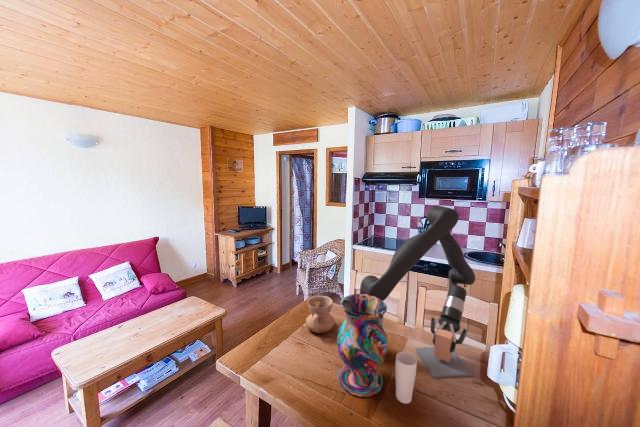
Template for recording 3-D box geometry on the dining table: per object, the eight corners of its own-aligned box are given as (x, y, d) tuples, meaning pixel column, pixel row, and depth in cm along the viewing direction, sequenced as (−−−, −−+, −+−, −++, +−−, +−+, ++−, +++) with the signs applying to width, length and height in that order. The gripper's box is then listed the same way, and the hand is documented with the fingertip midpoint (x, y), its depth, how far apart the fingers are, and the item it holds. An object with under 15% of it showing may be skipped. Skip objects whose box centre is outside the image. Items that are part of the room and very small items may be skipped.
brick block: (448, 362, 100) (450, 339, 99) (433, 356, 104) (435, 333, 102) (452, 355, 104) (454, 332, 103) (438, 349, 108) (439, 327, 107)
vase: (371, 410, 82) (376, 324, 78) (326, 382, 93) (327, 305, 89) (393, 375, 97) (397, 302, 92) (351, 355, 108) (353, 288, 103)
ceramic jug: (312, 316, 137) (311, 291, 135) (338, 320, 133) (338, 295, 131) (299, 336, 120) (299, 308, 118) (329, 342, 116) (329, 313, 114)
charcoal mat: (433, 377, 96) (433, 375, 96) (414, 349, 112) (415, 347, 112) (473, 376, 97) (473, 374, 97) (449, 348, 113) (449, 346, 113)
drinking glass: (390, 390, 90) (392, 351, 88) (408, 389, 91) (411, 351, 88) (397, 407, 83) (400, 366, 81) (417, 406, 84) (420, 365, 82)
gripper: (433, 300, 112) (422, 338, 104) (471, 312, 102) (461, 354, 95) (436, 307, 116) (426, 343, 109) (472, 318, 107) (463, 359, 100)
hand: (442, 348), depth 102 cm, fingers closed on brick block, 5 cm apart
